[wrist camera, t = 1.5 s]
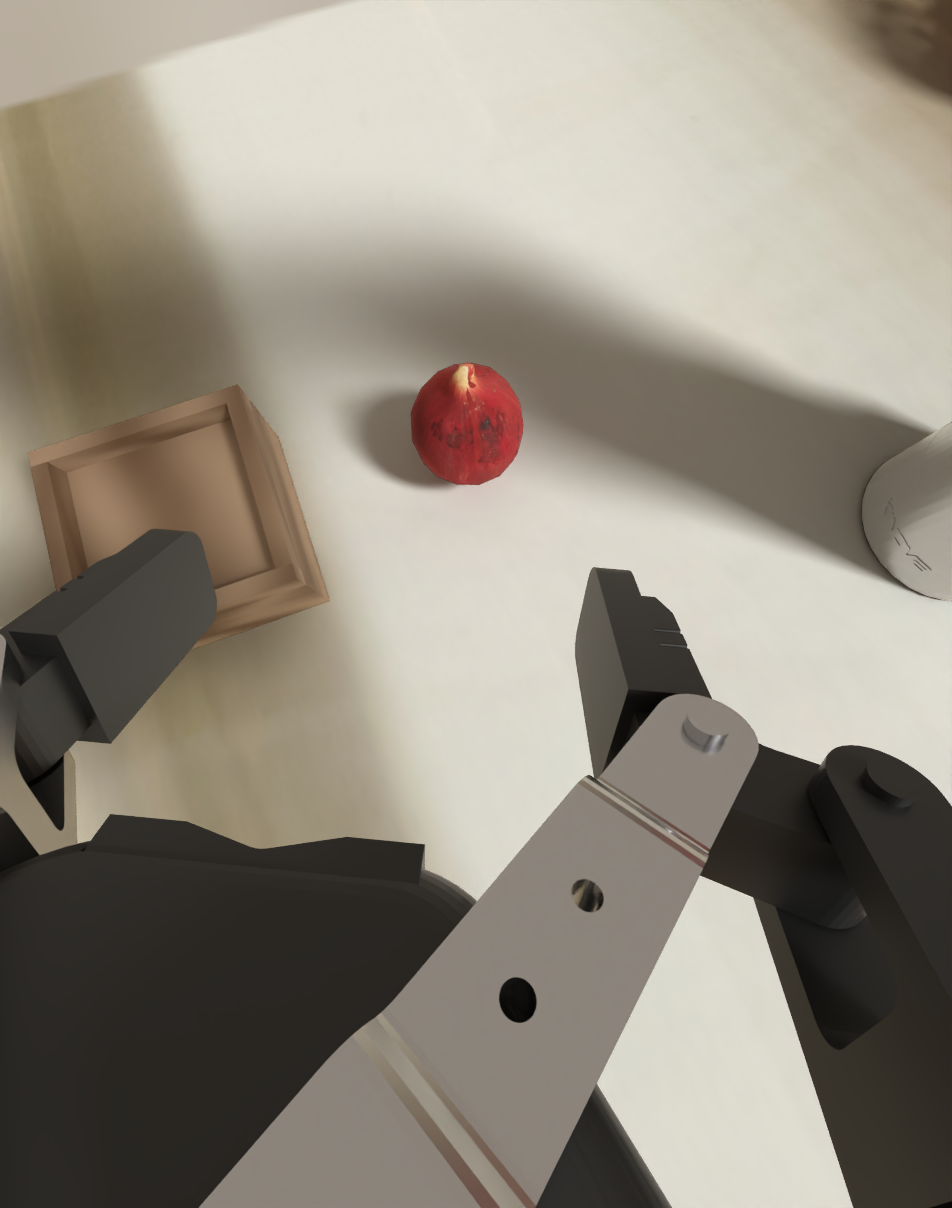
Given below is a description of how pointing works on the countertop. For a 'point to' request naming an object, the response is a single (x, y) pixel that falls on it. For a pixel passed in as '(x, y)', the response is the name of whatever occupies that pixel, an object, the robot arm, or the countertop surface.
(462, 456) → the onion
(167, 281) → the countertop surface
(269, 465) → the wooden tray
